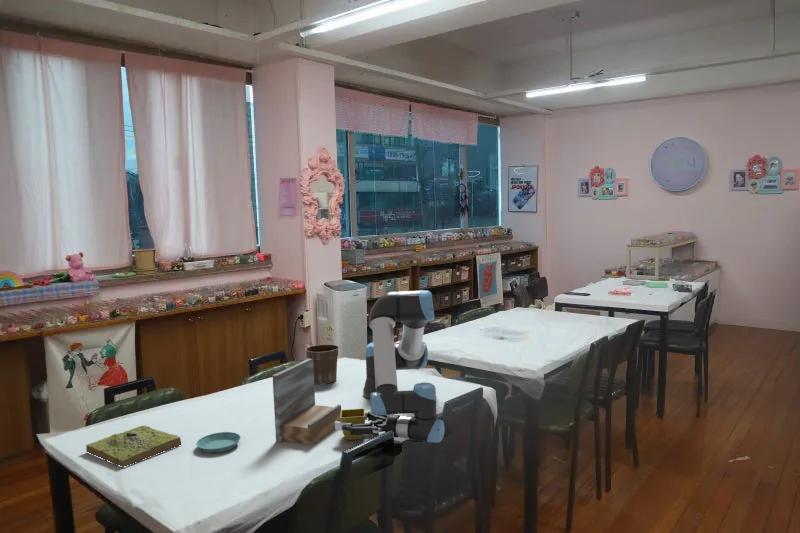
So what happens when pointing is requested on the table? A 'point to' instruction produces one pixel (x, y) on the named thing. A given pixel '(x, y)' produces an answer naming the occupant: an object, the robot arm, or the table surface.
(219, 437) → the saucer
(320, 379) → the plant pot
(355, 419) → the flower pot
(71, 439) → the table surface
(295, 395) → the book stand
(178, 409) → the table surface
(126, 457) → the miniature landscape model
